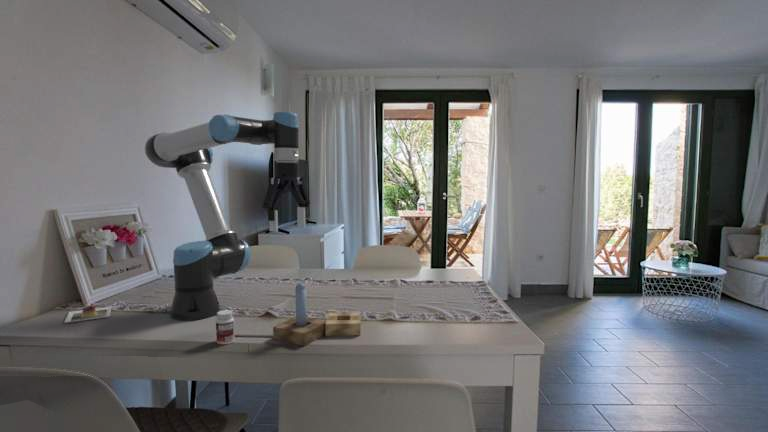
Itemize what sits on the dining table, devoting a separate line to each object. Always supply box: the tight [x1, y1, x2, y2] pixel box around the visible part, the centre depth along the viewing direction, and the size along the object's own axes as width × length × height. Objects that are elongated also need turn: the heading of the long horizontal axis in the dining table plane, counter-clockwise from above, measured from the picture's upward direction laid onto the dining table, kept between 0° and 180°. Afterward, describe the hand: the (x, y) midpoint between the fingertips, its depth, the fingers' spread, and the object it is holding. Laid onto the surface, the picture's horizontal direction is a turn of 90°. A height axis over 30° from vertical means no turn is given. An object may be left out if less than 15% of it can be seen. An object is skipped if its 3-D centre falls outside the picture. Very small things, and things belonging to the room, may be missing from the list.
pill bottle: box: [215, 309, 236, 345], centre depth 119 cm, size 5×5×8 cm
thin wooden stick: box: [235, 333, 273, 338], centre depth 123 cm, size 16×1×1 cm, turn 88°
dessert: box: [63, 302, 113, 324], centre depth 141 cm, size 12×12×5 cm
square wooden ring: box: [272, 316, 326, 347], centre depth 123 cm, size 11×11×4 cm
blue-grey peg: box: [294, 282, 308, 328], centre depth 123 cm, size 3×3×16 cm
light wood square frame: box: [325, 311, 362, 337], centre depth 129 cm, size 10×10×4 cm
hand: (288, 229), depth 138 cm, fingers open, 13 cm apart
